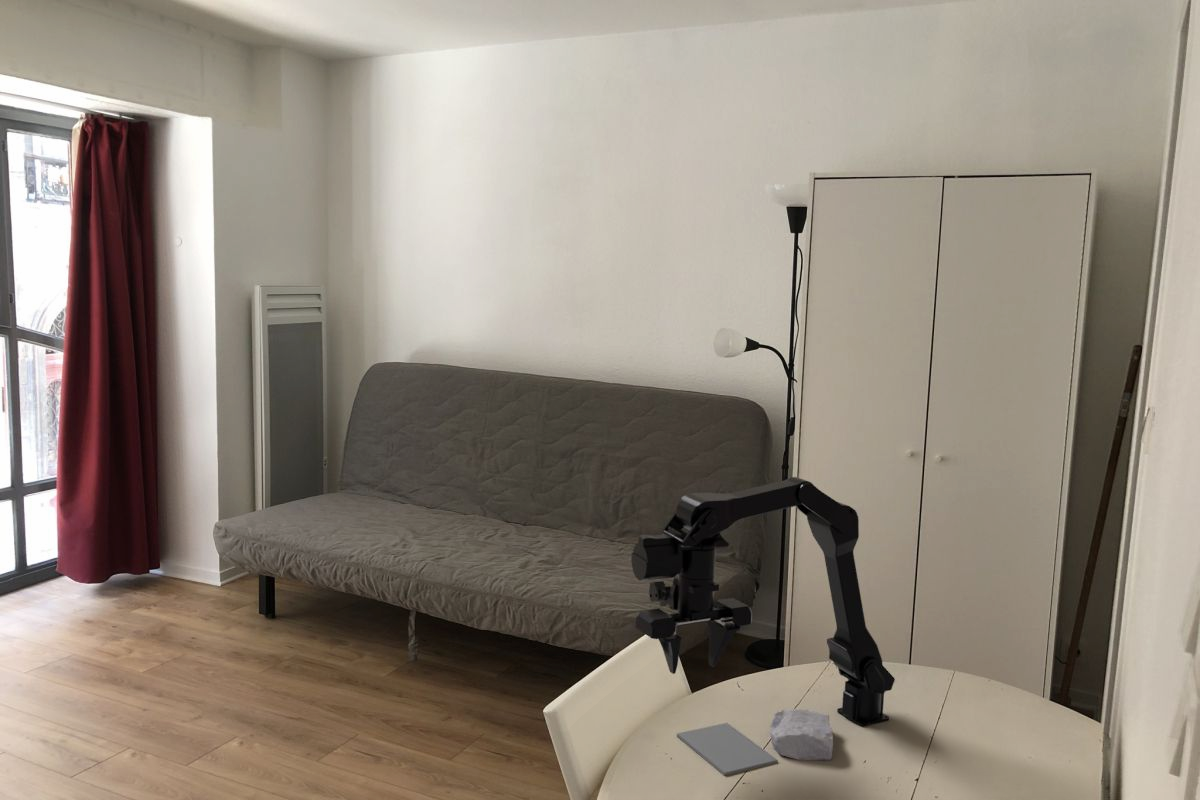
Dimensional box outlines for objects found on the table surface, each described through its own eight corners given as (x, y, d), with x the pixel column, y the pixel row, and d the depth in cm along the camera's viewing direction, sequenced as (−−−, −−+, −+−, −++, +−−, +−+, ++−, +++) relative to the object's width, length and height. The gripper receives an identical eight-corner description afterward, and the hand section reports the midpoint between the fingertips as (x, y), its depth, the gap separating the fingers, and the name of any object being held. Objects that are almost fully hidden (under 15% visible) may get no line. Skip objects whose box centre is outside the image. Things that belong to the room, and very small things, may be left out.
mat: (726, 725, 161) (727, 722, 161) (777, 762, 149) (777, 759, 149) (676, 736, 157) (676, 733, 157) (724, 775, 145) (724, 772, 144)
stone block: (774, 767, 150) (838, 762, 149) (770, 738, 150) (834, 732, 149) (771, 735, 162) (830, 730, 161) (767, 708, 162) (826, 703, 161)
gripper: (717, 555, 161) (712, 644, 163) (620, 566, 153) (617, 659, 155) (756, 573, 152) (751, 667, 153) (655, 586, 143) (651, 686, 145)
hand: (692, 669), depth 152 cm, fingers open, 7 cm apart
